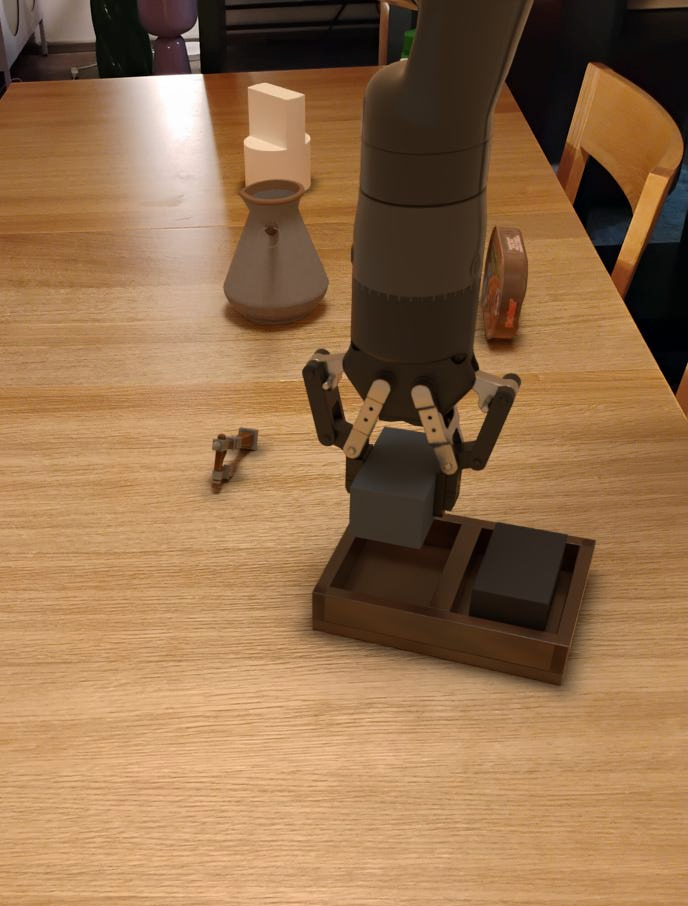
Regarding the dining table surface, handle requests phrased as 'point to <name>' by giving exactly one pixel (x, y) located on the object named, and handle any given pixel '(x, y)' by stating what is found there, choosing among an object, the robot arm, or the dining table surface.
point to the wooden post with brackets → (223, 443)
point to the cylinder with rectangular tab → (276, 136)
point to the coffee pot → (275, 257)
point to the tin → (504, 282)
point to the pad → (395, 490)
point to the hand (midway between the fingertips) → (400, 502)
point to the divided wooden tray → (445, 600)
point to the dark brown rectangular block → (518, 576)
